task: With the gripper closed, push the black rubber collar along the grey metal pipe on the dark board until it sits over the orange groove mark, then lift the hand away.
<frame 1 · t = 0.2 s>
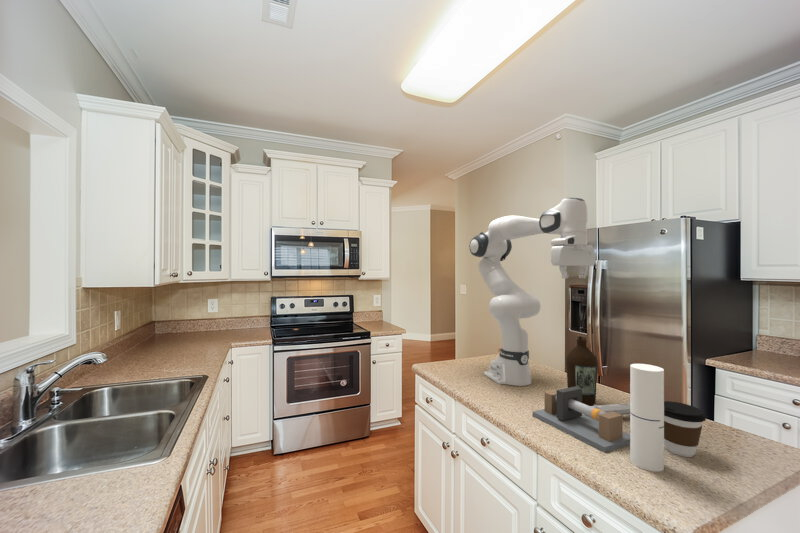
hand: (573, 278, 127), 47 cm above the worktop, tool pointing down, fingers open, 8 cm apart
collar: (569, 403, 113), point 6 cm above the worktop, slide at 0.0 cm
toothbrush head: (623, 419, 117), on the worktop
pipe stand: (580, 427, 110), on the worktop
coffee cup: (679, 451, 96), on the worktop
cylindrical container: (646, 464, 90), on the worktop
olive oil: (581, 402, 131), on the worktop
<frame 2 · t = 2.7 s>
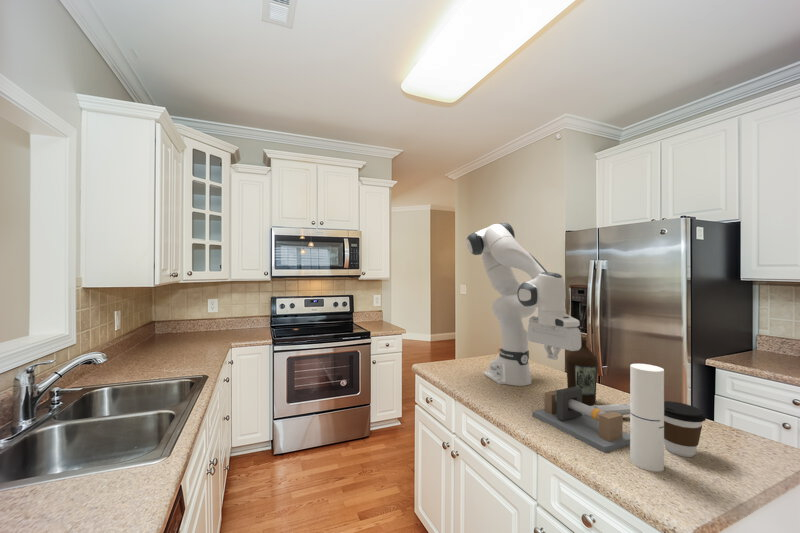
hand: (552, 358, 119), 19 cm above the worktop, tool pointing down, fingers closed
nothing on the worktop moved.
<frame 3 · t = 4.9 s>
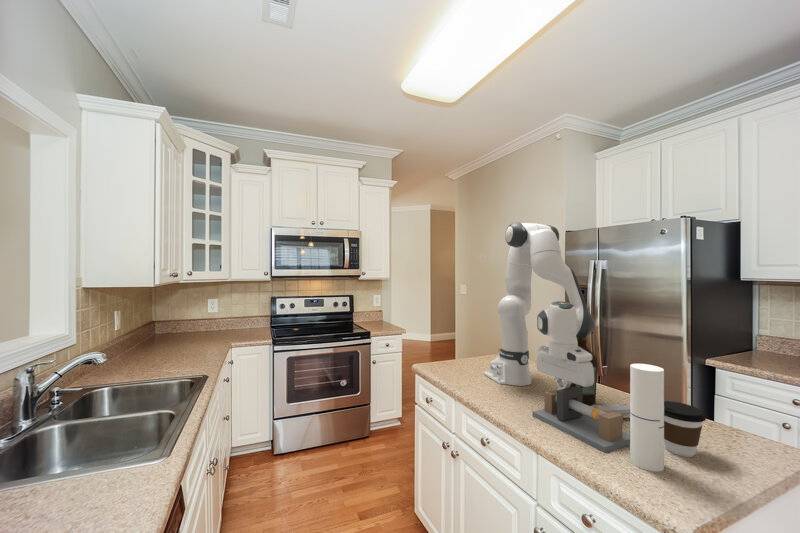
hand: (563, 391, 116), 9 cm above the worktop, tool pointing down, fingers closed
collar: (569, 403, 113), point 7 cm above the worktop, slide at 0.2 cm, touching gripper
everything else where it was.
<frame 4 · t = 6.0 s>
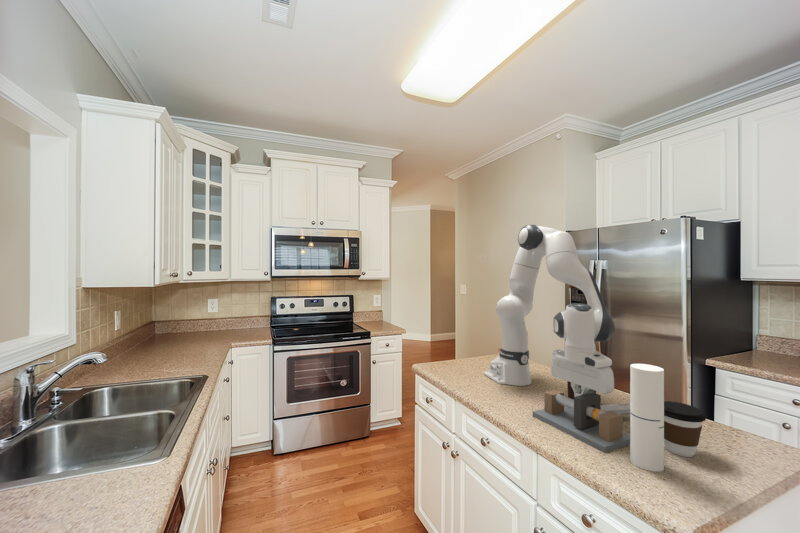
hand: (580, 398, 110), 9 cm above the worktop, tool pointing down, fingers closed
collar: (587, 410, 107), point 6 cm above the worktop, slide at 6.5 cm, touching gripper
everything else where it was.
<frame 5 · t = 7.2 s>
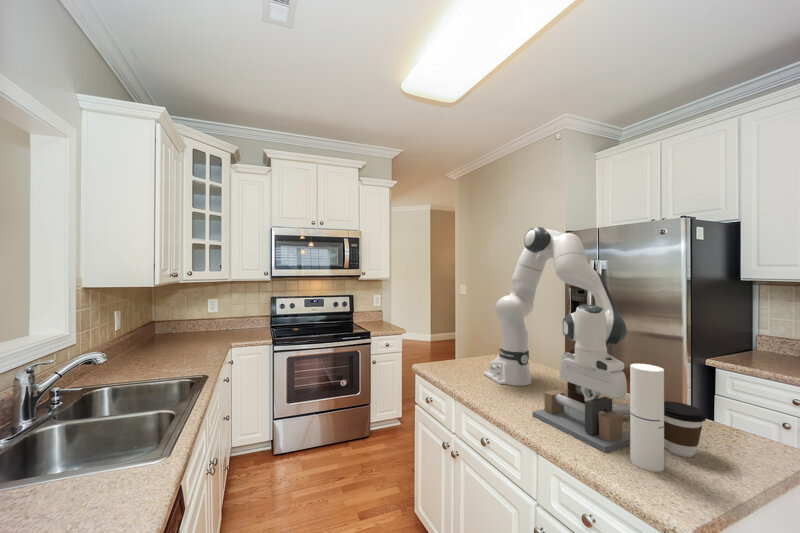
hand: (590, 403, 106), 9 cm above the worktop, tool pointing down, fingers closed
collar: (598, 415, 104), point 6 cm above the worktop, slide at 10.3 cm, touching gripper
everything else where it was.
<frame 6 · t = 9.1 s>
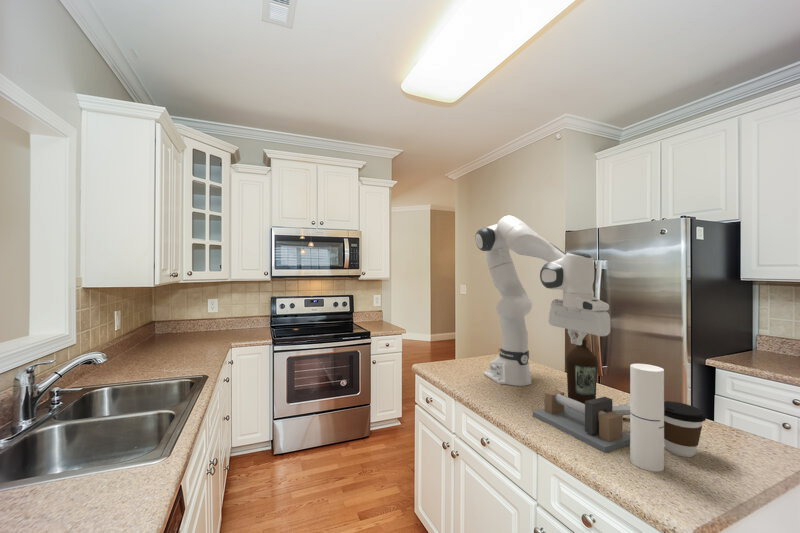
hand: (576, 344, 112), 26 cm above the worktop, tool pointing down, fingers closed
collar: (598, 415, 104), point 7 cm above the worktop, slide at 10.3 cm
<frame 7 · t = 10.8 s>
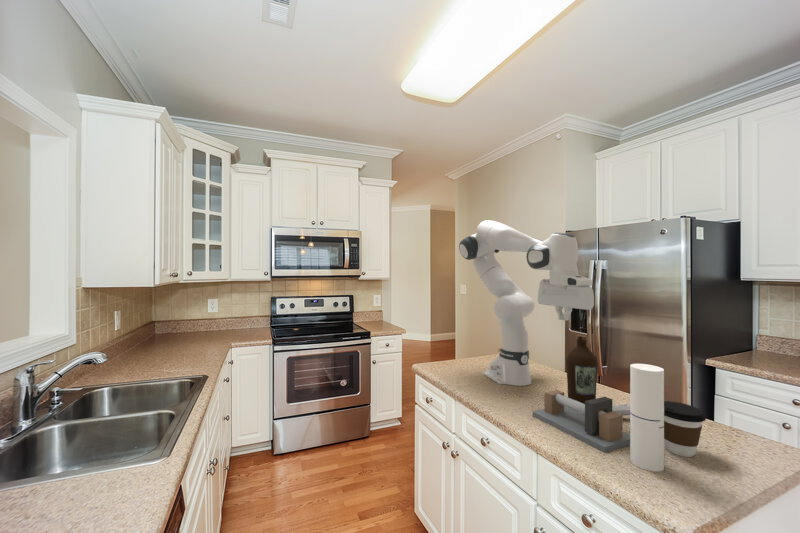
hand: (563, 320, 118), 33 cm above the worktop, tool pointing down, fingers closed
at the end: collar slide at 10.3 cm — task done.
